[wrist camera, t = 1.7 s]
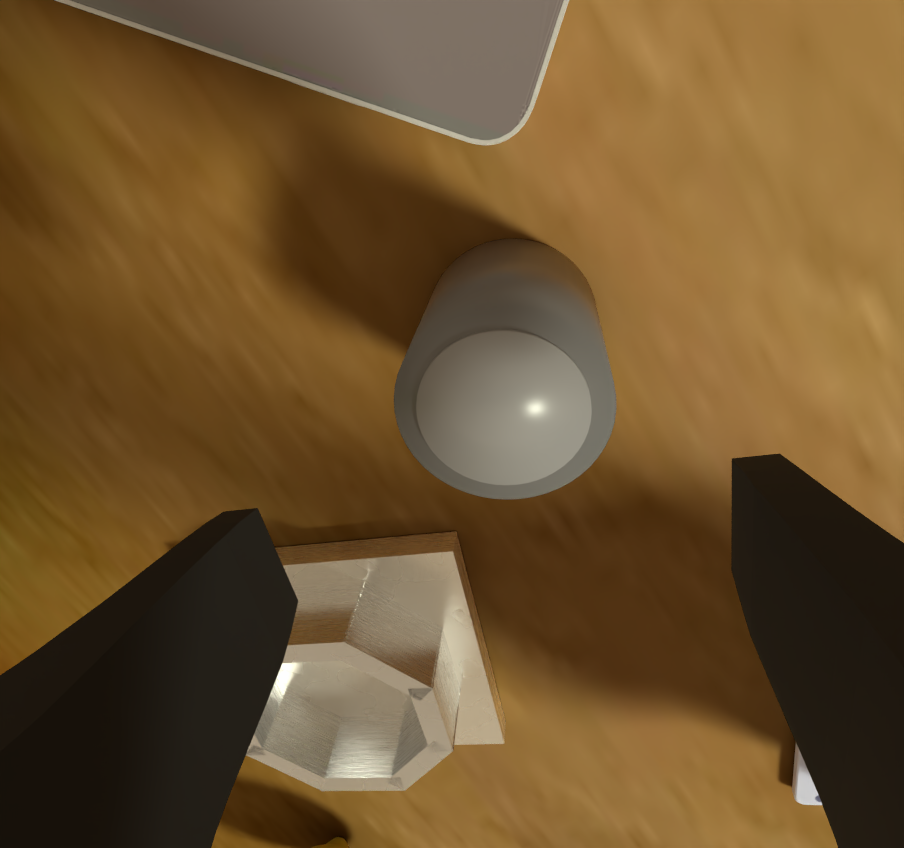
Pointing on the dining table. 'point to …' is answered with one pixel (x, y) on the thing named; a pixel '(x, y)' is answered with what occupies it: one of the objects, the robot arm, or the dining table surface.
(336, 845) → the lemon
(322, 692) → the octagonal socket plate
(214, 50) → the smartphone
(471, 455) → the cylindrical peg
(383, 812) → the dining table surface
